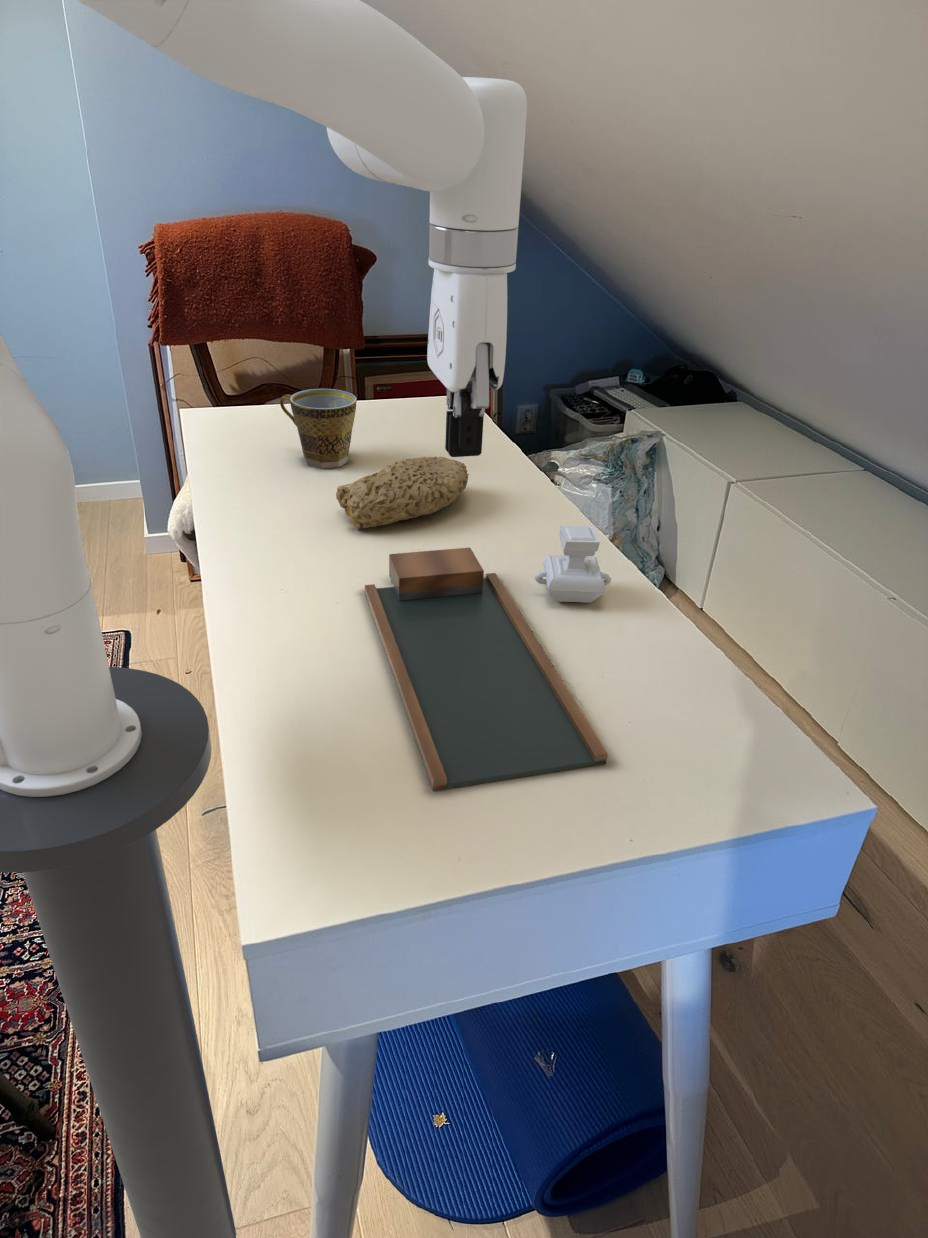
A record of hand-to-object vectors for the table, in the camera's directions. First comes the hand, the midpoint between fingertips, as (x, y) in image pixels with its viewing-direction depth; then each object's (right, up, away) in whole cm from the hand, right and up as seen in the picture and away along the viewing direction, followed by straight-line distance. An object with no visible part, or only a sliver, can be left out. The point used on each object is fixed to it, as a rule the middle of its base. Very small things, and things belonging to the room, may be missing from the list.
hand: (463, 452), depth 83 cm
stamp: (+13, -13, +20) cm, 27 cm away
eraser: (-3, -12, +19) cm, 23 cm away
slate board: (+1, -21, +6) cm, 22 cm away
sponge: (-8, -1, +39) cm, 39 cm away
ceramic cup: (-23, +9, +53) cm, 59 cm away
